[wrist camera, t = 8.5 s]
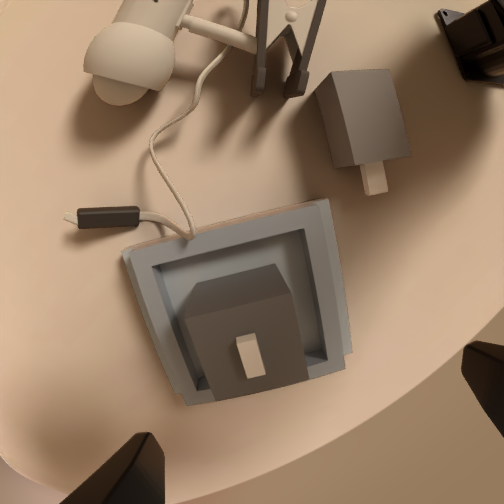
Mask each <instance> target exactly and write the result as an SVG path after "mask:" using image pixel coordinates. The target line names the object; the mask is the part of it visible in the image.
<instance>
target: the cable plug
mask: <svg viewBox="0 0 504 504" xmlns="http://www.w3.org/2000/svg"><path fill="white" fill-rule="evenodd" d="M315 93H316V97H317V101H318V104H319V108H320V112H321V116H322V120H323V124H324V128H325V132H326V136H327V140H328V144H329V148H330V153H331V157H332V162H333V166H334V168H341V167H347V166H354V165H360V170H361V175H362V180H363V185H364V191H365V195H375V194H380V193H385V192H388V186H387V181H386V175H385V170H384V165H383V161H384V160H390V159H397V158H404V157H411V151H410V147H409V142H408V137H407V133H406V129H405V125H404V120H403V117H402V113H401V109H400V105H399V101H398V98H397V94H396V91H395V87H394V84H393V81H392V78H391V74H390V71H389V69H373V70H350V71H336V72H330V74H329V75H328V76H327V77H326V78H325V79H324V80H323V81H322V82H321V83H320V85H319V86H318V87H317V88H316V89H315Z"/></svg>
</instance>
